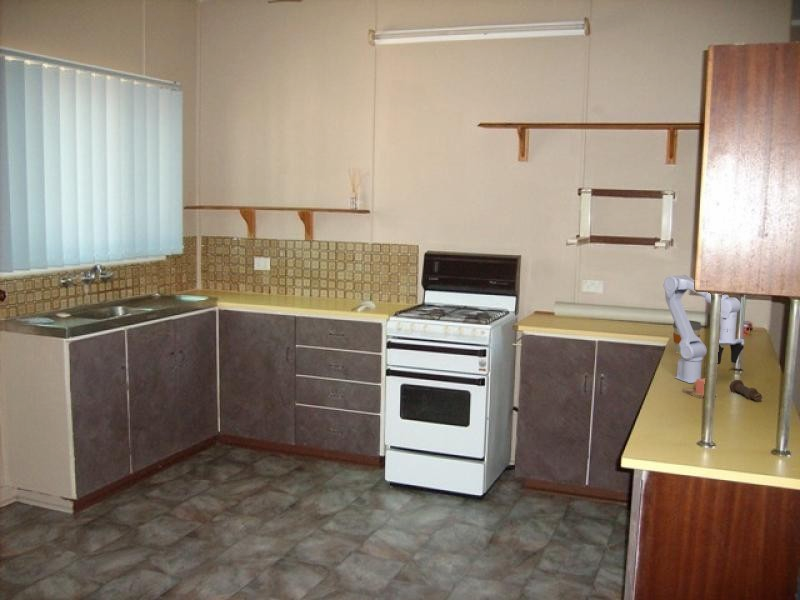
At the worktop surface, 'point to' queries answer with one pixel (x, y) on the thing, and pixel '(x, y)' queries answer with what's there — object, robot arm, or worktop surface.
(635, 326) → the worktop surface
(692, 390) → the stub block
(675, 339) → the reusable coffee cup
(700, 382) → the salmon cube
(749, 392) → the bolt
